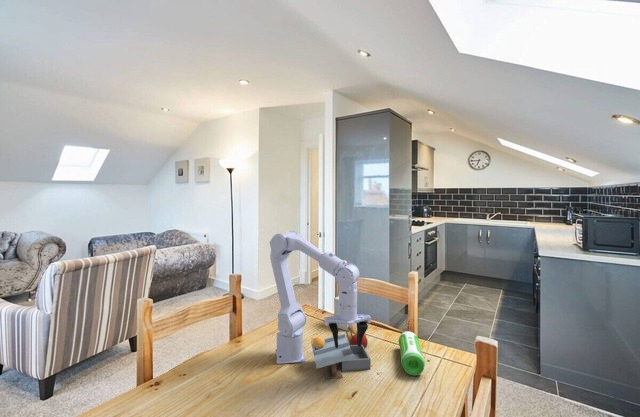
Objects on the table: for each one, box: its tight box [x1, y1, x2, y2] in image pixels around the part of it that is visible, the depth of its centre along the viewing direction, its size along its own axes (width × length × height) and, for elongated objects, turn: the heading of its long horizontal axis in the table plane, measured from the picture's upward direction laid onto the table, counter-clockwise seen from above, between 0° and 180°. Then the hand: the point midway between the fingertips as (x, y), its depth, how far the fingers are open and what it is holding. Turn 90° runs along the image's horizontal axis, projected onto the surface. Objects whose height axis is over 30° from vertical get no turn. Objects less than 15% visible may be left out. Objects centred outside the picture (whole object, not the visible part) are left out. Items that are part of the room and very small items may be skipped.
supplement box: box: [333, 296, 357, 332], centre depth 130 cm, size 7×7×13 cm
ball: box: [312, 335, 325, 349], centre depth 100 cm, size 4×4×4 cm
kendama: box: [346, 325, 369, 349], centre depth 116 cm, size 8×6×18 cm
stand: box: [323, 362, 344, 380], centre depth 98 cm, size 5×10×5 cm, turn 8°
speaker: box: [398, 330, 426, 376], centre depth 102 cm, size 18×7×8 cm, turn 169°
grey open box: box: [338, 345, 372, 373], centre depth 102 cm, size 10×10×4 cm
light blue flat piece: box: [310, 333, 354, 369], centre depth 97 cm, size 12×13×2 cm
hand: (347, 345), depth 94 cm, fingers open, 7 cm apart
